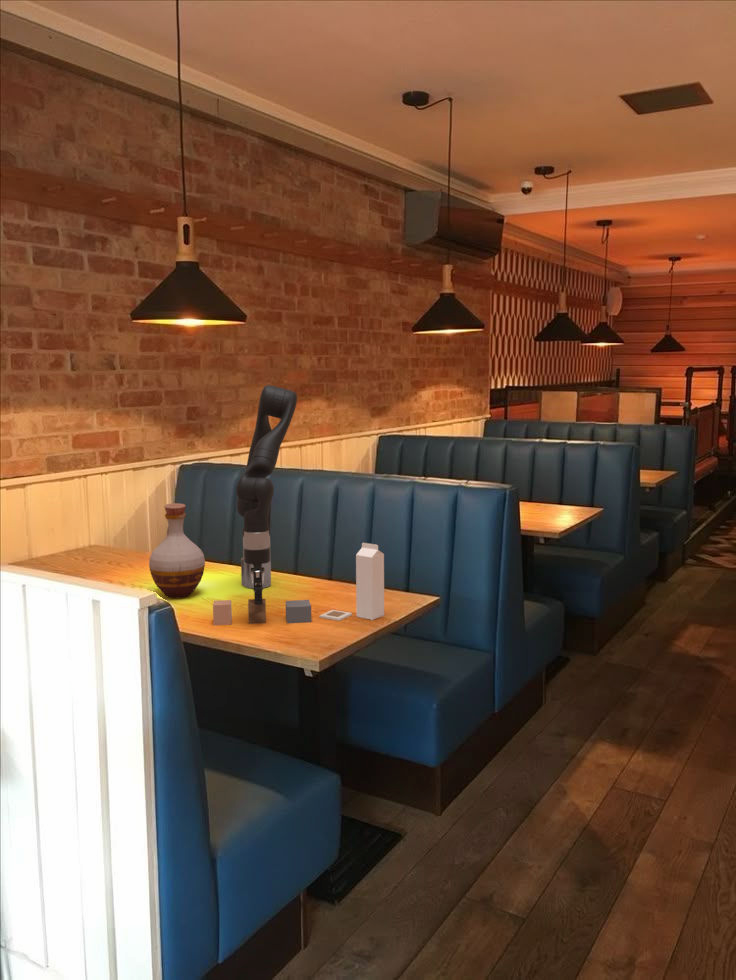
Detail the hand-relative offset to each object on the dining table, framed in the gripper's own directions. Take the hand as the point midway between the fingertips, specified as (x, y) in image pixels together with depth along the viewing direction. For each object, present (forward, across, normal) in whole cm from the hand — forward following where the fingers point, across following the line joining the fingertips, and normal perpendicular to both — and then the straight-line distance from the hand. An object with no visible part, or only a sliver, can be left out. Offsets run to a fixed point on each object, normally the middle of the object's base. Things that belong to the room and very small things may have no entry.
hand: (258, 600), depth 243 cm
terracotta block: (+6, 0, +10) cm, 12 cm away
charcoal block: (+6, 0, -12) cm, 13 cm away
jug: (+6, +34, +26) cm, 44 cm away
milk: (+6, 0, -33) cm, 34 cm away
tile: (+6, +2, -23) cm, 24 cm away
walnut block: (+6, 0, 0) cm, 6 cm away
